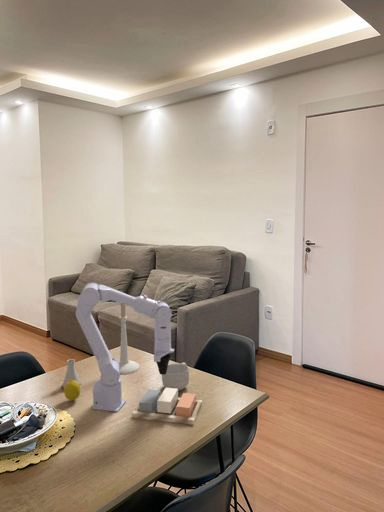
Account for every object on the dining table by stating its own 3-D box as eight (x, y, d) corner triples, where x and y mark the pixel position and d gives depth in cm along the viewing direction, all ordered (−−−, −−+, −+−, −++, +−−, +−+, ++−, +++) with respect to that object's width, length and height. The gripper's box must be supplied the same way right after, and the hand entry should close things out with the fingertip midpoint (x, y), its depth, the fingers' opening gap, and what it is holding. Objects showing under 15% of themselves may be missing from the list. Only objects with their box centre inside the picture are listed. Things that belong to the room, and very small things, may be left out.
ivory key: (157, 411, 136) (157, 400, 136) (165, 398, 146) (165, 387, 146) (170, 413, 135) (170, 402, 135) (178, 399, 145) (177, 388, 145)
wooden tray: (131, 417, 136) (131, 413, 136) (145, 397, 150) (145, 394, 150) (193, 424, 132) (193, 420, 132) (202, 404, 145) (202, 400, 145)
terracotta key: (176, 417, 135) (176, 406, 135) (183, 403, 145) (183, 392, 144) (189, 419, 134) (189, 407, 134) (195, 404, 144) (195, 394, 143)
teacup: (177, 396, 151) (177, 376, 150) (155, 388, 157) (155, 369, 156) (199, 383, 162) (199, 364, 161) (178, 376, 168) (178, 358, 167)
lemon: (76, 405, 144) (75, 384, 143) (61, 404, 146) (60, 382, 144) (83, 398, 150) (82, 377, 149) (69, 396, 151) (68, 376, 150)
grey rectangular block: (139, 413, 138) (138, 402, 137) (148, 399, 148) (148, 389, 147) (151, 415, 137) (151, 403, 136) (160, 401, 147) (160, 390, 146)
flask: (78, 389, 157) (77, 364, 156) (59, 389, 157) (58, 364, 156) (83, 381, 164) (82, 357, 163) (65, 381, 164) (64, 357, 163)
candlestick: (110, 375, 169) (108, 305, 166) (108, 364, 182) (106, 298, 178) (141, 372, 173) (139, 303, 169) (137, 361, 185) (136, 296, 181)
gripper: (167, 344, 137) (168, 383, 138) (178, 331, 151) (178, 366, 152) (147, 343, 138) (148, 381, 140) (160, 330, 152) (160, 365, 154)
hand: (163, 373), depth 146 cm, fingers closed
